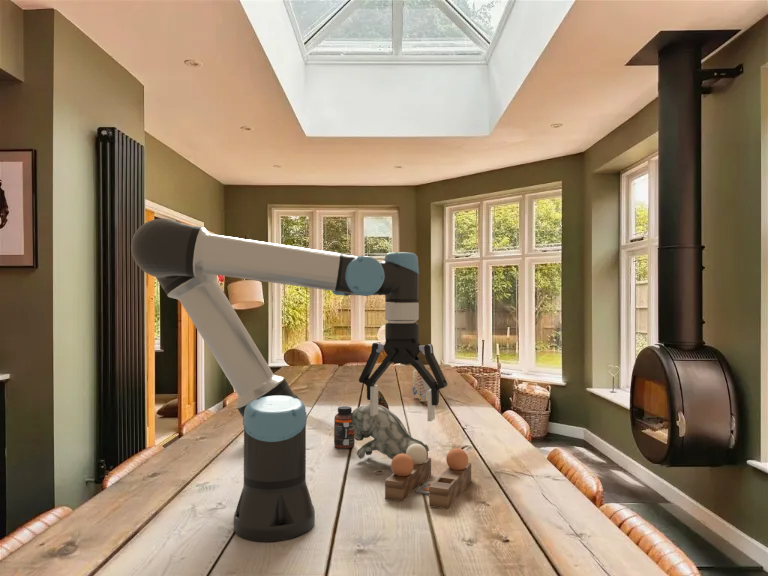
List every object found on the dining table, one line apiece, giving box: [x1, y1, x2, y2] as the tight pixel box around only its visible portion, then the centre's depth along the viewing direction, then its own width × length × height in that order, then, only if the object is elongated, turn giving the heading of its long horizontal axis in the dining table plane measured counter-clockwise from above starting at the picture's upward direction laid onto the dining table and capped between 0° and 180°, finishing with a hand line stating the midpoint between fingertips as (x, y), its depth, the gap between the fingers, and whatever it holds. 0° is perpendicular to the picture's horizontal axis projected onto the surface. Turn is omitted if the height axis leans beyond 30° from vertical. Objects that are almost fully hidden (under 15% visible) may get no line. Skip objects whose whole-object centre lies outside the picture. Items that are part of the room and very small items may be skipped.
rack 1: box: [384, 457, 432, 503], centre depth 125 cm, size 19×4×4 cm, turn 156°
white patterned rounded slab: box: [412, 367, 431, 403], centre depth 224 cm, size 21×6×15 cm, turn 12°
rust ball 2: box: [445, 447, 469, 471], centre depth 125 cm, size 5×5×5 cm
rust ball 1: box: [390, 454, 414, 477], centre depth 121 cm, size 5×5×5 cm
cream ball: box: [406, 444, 427, 465], centre depth 129 cm, size 5×5×5 cm
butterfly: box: [378, 390, 390, 410], centre depth 187 cm, size 12×10×10 cm
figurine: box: [351, 403, 430, 460], centre depth 140 cm, size 10×19×20 cm
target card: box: [415, 480, 434, 496], centre depth 123 cm, size 7×4×1 cm, turn 156°
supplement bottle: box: [333, 405, 356, 450], centre depth 157 cm, size 6×6×11 cm
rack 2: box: [428, 462, 472, 510], centre depth 121 cm, size 19×4×4 cm, turn 156°
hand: (402, 417), depth 121 cm, fingers open, 13 cm apart
